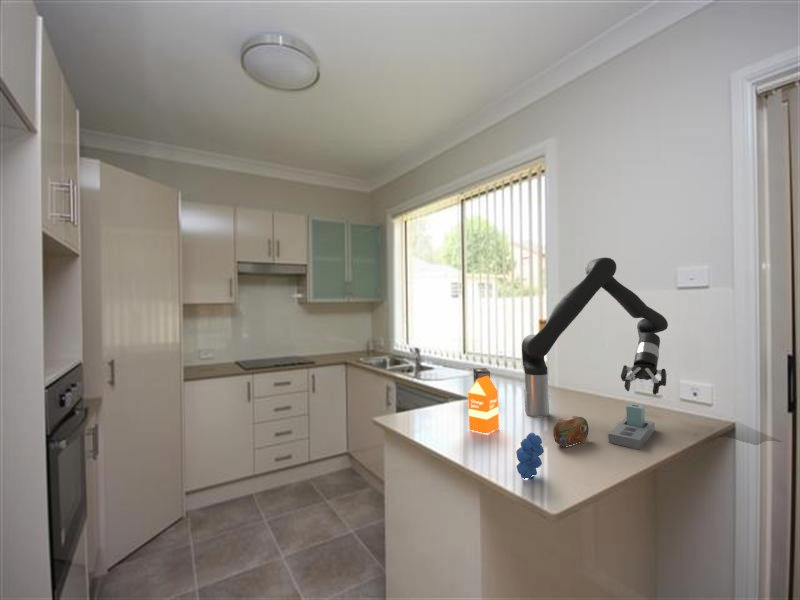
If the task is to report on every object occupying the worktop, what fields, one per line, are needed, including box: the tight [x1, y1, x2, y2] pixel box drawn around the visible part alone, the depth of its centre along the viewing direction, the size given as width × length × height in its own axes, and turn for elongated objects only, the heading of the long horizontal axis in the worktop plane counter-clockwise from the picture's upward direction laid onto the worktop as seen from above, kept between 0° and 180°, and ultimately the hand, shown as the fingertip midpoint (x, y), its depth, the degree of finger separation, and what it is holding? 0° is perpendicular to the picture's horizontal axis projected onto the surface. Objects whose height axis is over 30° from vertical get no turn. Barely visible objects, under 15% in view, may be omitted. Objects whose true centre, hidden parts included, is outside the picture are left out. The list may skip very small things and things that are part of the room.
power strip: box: [607, 416, 656, 450], centre depth 127 cm, size 22×9×4 cm, turn 135°
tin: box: [552, 415, 589, 448], centre depth 123 cm, size 15×3×8 cm, turn 117°
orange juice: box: [467, 376, 500, 433], centre depth 137 cm, size 8×9×20 cm
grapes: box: [515, 432, 545, 479], centre depth 101 cm, size 12×7×12 cm, turn 131°
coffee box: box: [472, 367, 491, 384], centre depth 172 cm, size 9×6×16 cm
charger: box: [626, 403, 646, 428], centre depth 130 cm, size 4×4×9 cm
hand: (640, 391), depth 136 cm, fingers open, 8 cm apart
